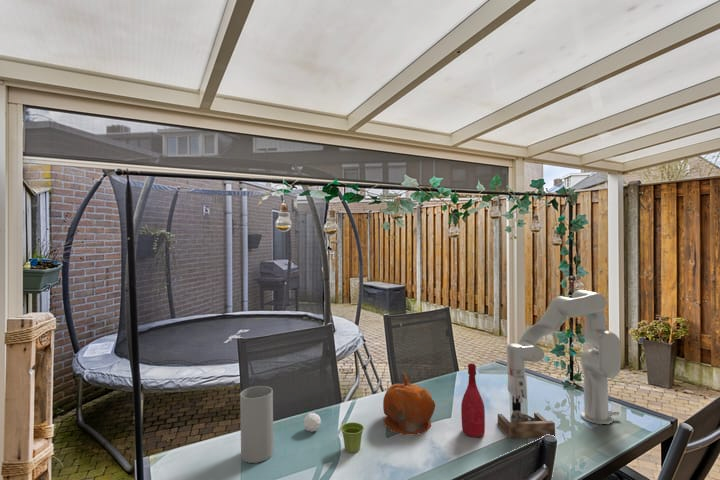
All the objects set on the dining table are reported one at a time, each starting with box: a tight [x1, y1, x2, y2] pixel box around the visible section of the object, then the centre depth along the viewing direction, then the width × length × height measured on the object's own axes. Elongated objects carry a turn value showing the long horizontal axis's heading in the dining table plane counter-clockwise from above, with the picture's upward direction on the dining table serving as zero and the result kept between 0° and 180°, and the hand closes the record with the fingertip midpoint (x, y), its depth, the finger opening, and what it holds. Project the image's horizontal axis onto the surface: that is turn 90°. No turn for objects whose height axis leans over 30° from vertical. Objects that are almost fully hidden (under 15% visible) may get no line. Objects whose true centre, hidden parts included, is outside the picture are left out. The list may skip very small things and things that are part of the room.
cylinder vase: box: [239, 385, 275, 464], centre depth 147 cm, size 12×12×25 cm
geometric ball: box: [303, 412, 322, 433], centre depth 165 cm, size 8×8×8 cm
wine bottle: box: [460, 362, 486, 438], centre depth 161 cm, size 10×10×30 cm
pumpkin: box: [382, 371, 436, 435], centre depth 172 cm, size 22×25×22 cm
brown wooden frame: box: [497, 412, 556, 440], centre depth 163 cm, size 19×14×6 cm
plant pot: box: [340, 422, 365, 453], centre depth 150 cm, size 9×9×9 cm
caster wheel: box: [510, 410, 536, 422], centre depth 167 cm, size 7×11×10 cm
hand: (516, 410), depth 170 cm, fingers closed
